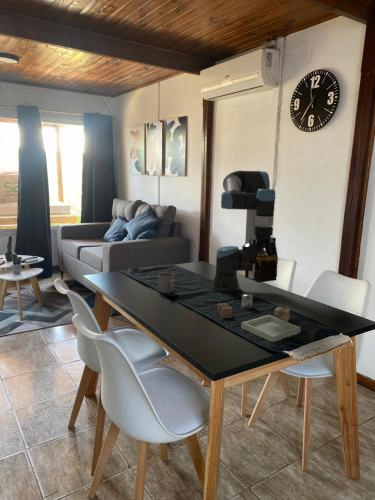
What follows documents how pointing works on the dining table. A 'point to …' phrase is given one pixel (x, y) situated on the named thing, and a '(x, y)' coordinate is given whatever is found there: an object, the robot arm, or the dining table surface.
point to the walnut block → (224, 310)
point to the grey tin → (247, 301)
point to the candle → (264, 268)
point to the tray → (270, 328)
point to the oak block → (282, 313)
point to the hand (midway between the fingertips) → (260, 276)
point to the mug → (166, 282)
